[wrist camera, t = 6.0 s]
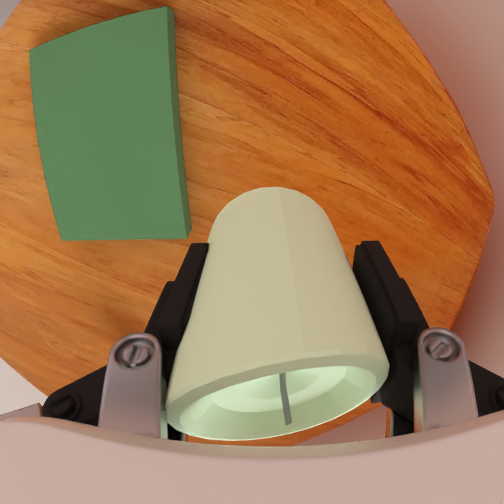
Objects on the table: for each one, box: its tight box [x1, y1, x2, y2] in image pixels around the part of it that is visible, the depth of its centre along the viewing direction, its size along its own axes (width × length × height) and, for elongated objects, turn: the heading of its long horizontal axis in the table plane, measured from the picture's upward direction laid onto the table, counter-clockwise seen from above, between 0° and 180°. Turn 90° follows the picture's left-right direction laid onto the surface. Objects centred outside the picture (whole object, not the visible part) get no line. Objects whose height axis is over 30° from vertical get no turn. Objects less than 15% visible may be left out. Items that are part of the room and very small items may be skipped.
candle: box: [164, 187, 390, 440], centre depth 9 cm, size 5×5×8 cm
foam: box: [29, 6, 192, 241], centre depth 24 cm, size 20×14×2 cm
